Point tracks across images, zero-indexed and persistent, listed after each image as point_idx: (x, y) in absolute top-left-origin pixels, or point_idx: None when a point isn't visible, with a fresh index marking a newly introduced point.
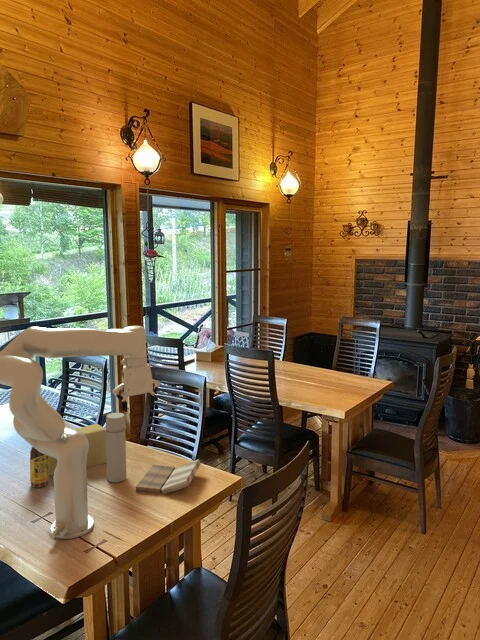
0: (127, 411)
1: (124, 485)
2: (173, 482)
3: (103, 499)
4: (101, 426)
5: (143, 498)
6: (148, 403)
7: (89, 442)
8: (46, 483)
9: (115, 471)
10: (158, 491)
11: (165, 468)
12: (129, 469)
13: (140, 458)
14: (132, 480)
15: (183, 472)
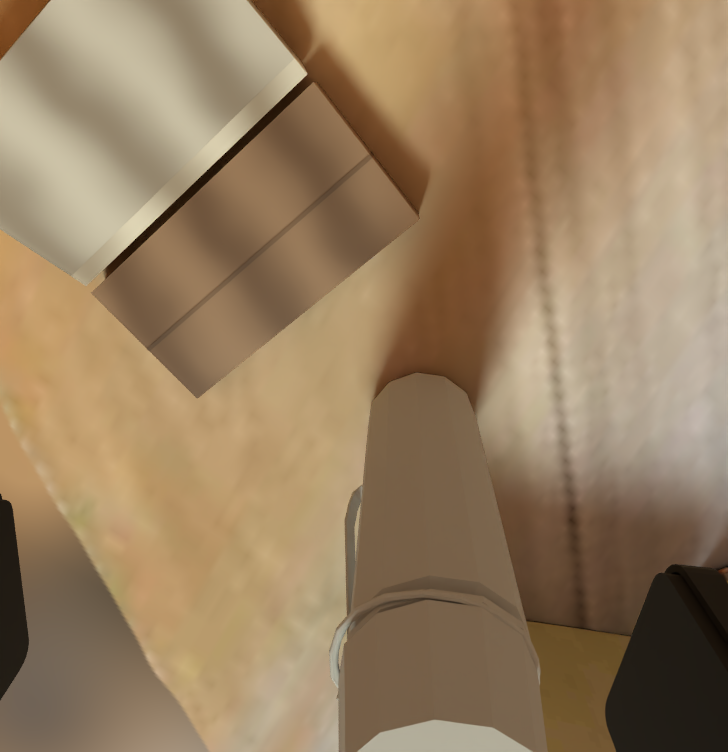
0: (662, 575)
1: (426, 326)
2: (212, 42)
3: (603, 257)
4: None
5: (425, 105)
6: (10, 664)
7: None
8: (720, 573)
9: (457, 409)
10: (321, 90)
11: (152, 311)
12: (311, 468)
13: (204, 536)
14: (361, 349)
15: (89, 108)
